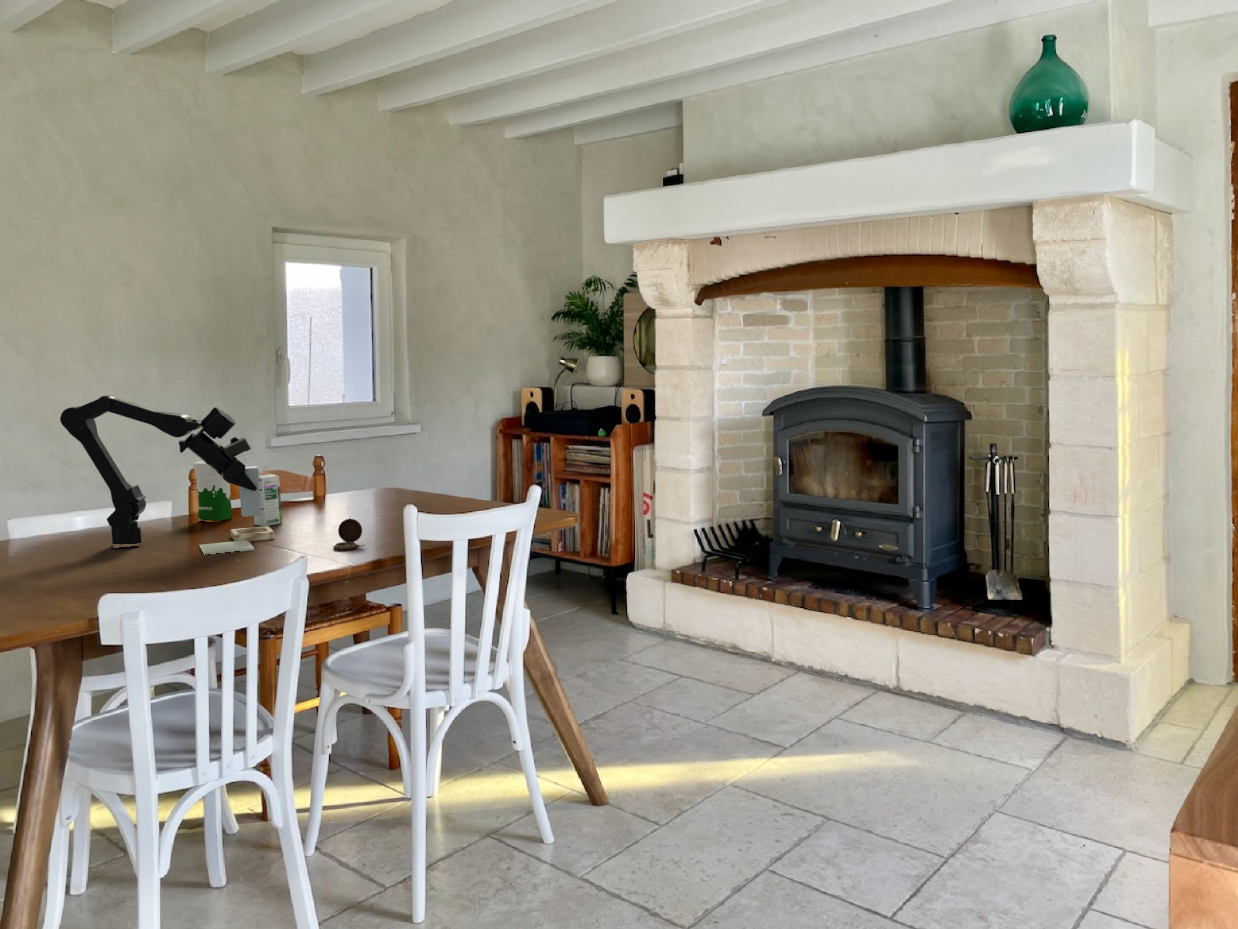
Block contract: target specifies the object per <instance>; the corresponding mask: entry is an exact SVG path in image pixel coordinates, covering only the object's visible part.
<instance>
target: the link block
mask: <svg viewBox="0 0 1238 929" xmlns="http://www.w3.org/2000/svg"><path fill="white" fill-rule="evenodd" d="M245 473H246V475H247V476H248V477H249V479H250V480H251V481H252V482H253V483H254V485H255V486H256V487H257V489H256V491H252V490H249V489H246V488H243V487H240V486H239V499H240V513H241V514H240V515H241V516H242V517H244V518H245V517H247V518H249V517H254V516H259V515H261V509H260V491H259V476H260V475H259V467H258V466H256V465H254V466H253V465H252V466H245Z"/></svg>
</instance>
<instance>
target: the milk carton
mask: <svg viewBox="0 0 1238 929" xmlns="http://www.w3.org/2000/svg"><path fill="white" fill-rule="evenodd" d="M192 467H193V469H194V474H195V476H196V487H197V488H196V490H197V504H198V505H197V509H198V511H197V519H198V518H200V519H202V520H212V521H220V520H226V519H230V518H233V517H234V516H233V508H232V497H231V484H230V483H228V482H226V481H225V480H224V479H223V478H222V476H221V475H220V474H218V473H217V471H215V470H214V469H213V468H212V467H210V466H209V465H208V464H206V463H205V462H204V461H203V460H199V461H197V462H192ZM230 520H231V519H230ZM226 521H227V520H226Z"/></svg>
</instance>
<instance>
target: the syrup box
mask: <svg viewBox="0 0 1238 929" xmlns="http://www.w3.org/2000/svg"><path fill="white" fill-rule="evenodd" d="M259 491H260V509H261V515H259V516H253V517H254V520H253V521H254V525H255V526H258V527H263V526H269V527H270V526H275V525H280V524H283V513H282V512H283V511H282V499H281V496H282V495H281V483H280V476H279V475H278V474H273V473H272V474H271V473H270V474H261V475H259Z"/></svg>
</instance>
